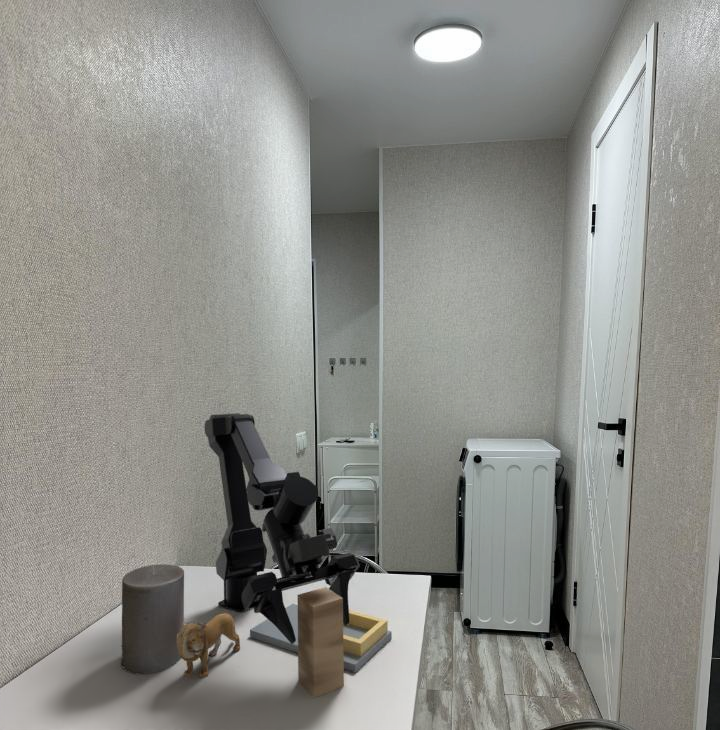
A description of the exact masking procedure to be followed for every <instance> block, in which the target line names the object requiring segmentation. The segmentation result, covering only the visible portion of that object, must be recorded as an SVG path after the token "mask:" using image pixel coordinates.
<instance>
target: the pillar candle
mask: <svg viewBox="0 0 720 730" xmlns="http://www.w3.org/2000/svg"><path fill="white" fill-rule="evenodd" d="M121 581H122V582H121V660H120V662H121V663H120V665H121V667H122V666H123V667H124V668H123V667H122V668H123V669H125V670H124V671H126V672H128V673H130V674H131V673H132V674H137V673H138V674H137V675H147V674H154V673H158V672H161V671H163V670H164V671H165V670H166V669H169V668H170V666H171V667H173V666H174V665H176V664H177V663H178V662H179V661H180V660H181V659H182V658H181V657H180V654H179V653H178V648H177V642H176V641H177V634H178V633H179V631H180V629H181V628H182V627H183V626H184V625H185V570H184V569H183V567H180V566H179V565H177V564H167V563H165V564H164V563H163V564H159V563H158V564H151V565H150V564H148V565H146V566H141V567H138V568H136V569H133V570H130V571H129V572H127V573H126V574H125V575H124V576H122V579H121ZM180 658H181V659H180ZM176 662H177V663H176ZM153 672H154V673H153ZM145 673H147V674H145Z"/></svg>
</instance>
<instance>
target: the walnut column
mask: <svg viewBox="0 0 720 730" xmlns="http://www.w3.org/2000/svg"><path fill="white" fill-rule="evenodd" d="M297 605H298V653H297V669H298V670H297V671H298V673H297V674H298V675H297V676H298V680H297V681H298V682H299V683H300V685H302V686H303V688H304V689H305V690H306V691H307V692H308V693H309V694H310V695H311V696H312V698H314V699H315V698H318V697H320V696H323V695H326V694H328V693H330V692H332V691H335V690H337V689H340V688H343V687H344V686H345V677H344V676H345V675H344V674H345V673H344V671H345V669H344V654H343V598H342V597H340V596H339V595H337V594H336V593H334V592H333V591H331V590H330V589H329V587H327V586H324V587H321V588H317V589H314V590H310V591H306V592H302V593H299V594H297Z"/></svg>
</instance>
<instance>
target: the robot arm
mask: <svg viewBox="0 0 720 730" xmlns="http://www.w3.org/2000/svg"><path fill="white" fill-rule="evenodd" d="M204 434H205V437H207V440H208V446H209V448H211V450H212V452H214V453H215V454H216V455H217V457H218V460H219V461H218V462H219V468H220V470H219V471H220V475H221V476H220V477H221V484H222V485H221V486H222V492H223V500H224V507H225V514H226V523H227V528H226V529H225V531H224V533H223V534H224V535H223V537H222V540H221V551H220V552H219V555H218V556H217V559H216V561H215V570H216V574H217V576H219V578H220V579H222V580H223V599H222V600H220V601H218V603H217V605H218V606H219V607H222V608H226V609H228V610H231V611H235V612H239V613H243V612H245V611H249V610H253V612H254V614H258V613H260V614H261V615H263V617H264V618H266V620H267V619H268V620H269V621H271V622H272V623H273V624H274V625H275V626H276V627H277V628H278V629H279V631H280V632H281V633H282V634H283V635H284V636H285V637H286V638H287V639H288V640H289V642H290V643H291V644H293V643H294V642H295V641H296V638H295V634H294V630H293V627H292V625H291V622H290V619H289V617H288V614H287V611H286V609H285V608H286V607H285V604H284V598H283V592H284V591H287V590H291V589H294V588H298V587H302V586H303V587H304V586H306V585H310V584H314V583H317V582H321V581H324V582H325V584H327V585H328V586H329V587H328V589H330V590H331V591H333V592H334V593H336V594H337V595H339V596H340V597H342V598H343V623H344V625H345V626H347V625H348V624H349V622H350V621H349V610H350V608H349V582H350V581H351V579H352V578H353V576H355V573H356V572H357V571H358V569H359V568H360V567H361V565H360V563H359V560H358V558H357V556H356V555H355V554H353V553H351V552H347V553H343V554H339V555H336V556H332V558H331V559H330V561H329V562H328V563H327V565H326V566H323V567H319V568H318V565H320V564H321V563H322V562H323V558H322V557H326V556H328V557H329V556H330V555H331V553H330V551H331V550H333V549H335V548H337V546H338V541H337V537H336V534H335V533H334V531H333V529H332V527H329V528H323V529H321V530H318V532H317V535H315V536H311V535H309V533H306V534H305V533H304V530H303V527H302V523H303V522H305V520H306V519H307V517H308V516H309V514H310V512H311V510H313V509H312V508H313V507H314V505H315V503H316V502H317V500H318V497H319V490H318V487H317V485H316V484H314V483H313V482H312V481H311V480H310V479H308V478H307V477H304V476H301V474H300V472H299V471H292V472H286V471H285V470H284V468H283V467H281V466H280V465H278V464H276V463H274V462H273V461H272V458H271V457H270V455H269V453H268V451H267V449H266V447H265V445H264V442H263V440H262V438H261V436H260V434H259V432H258V430H257V428H256V425H255V418H254V416H253V415H252V414H249V413H244V414H243V413H242V414H241V413H239V412H238V413H236V412H235V413H234V412H233V413H220V414H217V413H215V414H212V415H210V417H209V419H207V420H205V423H204ZM245 471H246V473H247V476H248V483H246V476H245ZM246 484H247V485H246ZM250 505H251V507H252V509H254V511H259V512H260V511H266V510H269V511H268V512H266V515H265V516H264V518H263V523H262V526H261V527H260V526H258V527H257V526H256V524H255V523H254V522H253V521H252V516H251V511H250ZM263 533H267V537H268V539H269V542H270V543H269V544H270V545H271V548H272V551H273V555H272V556H271V560H272V562H273V563H275V564H276V563H277V567H278V569H279V572H280V574H281V575H280V576H281V577H277V575H276V574H275V573H274V572H273V571H270V572H265V573H260V572H264V571H265V567H266V561H267V554H268V548H267V546H266V543H265V541H264V537H263V536H264V535H263ZM258 573H260V574H258Z"/></svg>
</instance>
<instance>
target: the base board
mask: <svg viewBox="0 0 720 730" xmlns="http://www.w3.org/2000/svg"><path fill="white" fill-rule="evenodd" d="M285 609H286V611H287V614H288V617H289V619H290V622H291V625H292V627H293V630H294V634H295V638H296V641H295V642H294V643H293V644H291V643H290V642H289V640H288V639H287V638H286V637H285V636H284V635H283V634H282V633H281V632H280V631H279V629H278V628H277V627H276V626H275V625H274V624H273V623H272V622H271V621H269V620H268V619H267V618H266V619H265V620H264V621H262V622H260V623H259V624H257V625H256V626H254V627H252V628H250V629H249V637H250V638H254V639H255V640H258V641H262V642H266V643H268V644H271V645H272V646H273V645H274V646H276V647H279V648H282V649H285V650H288V651H291V652H295V653H297V654H298V604H296V603H291V604H290V605H288V606H286V607H285ZM349 621H350V622H349V624H348V625H347V626H345V625H344V623H343V654H344V670H347V671H349V672H353V673H356V672H357V671H358V670H360V669H361V668H362V667H363V666H364V665H365V664H366V663H367V662H368V661H369V660H370V659H371V658H372V657H374V656H375V655H376V654H377V653H378V652H379V651H380V650H381V649H382V648H384V646H385V645H386V644H387V643H388V642H389V641H390V640H392V638H393V637H392V635H393V634H392V633H393V632H392V631H391V630H388V629H389V628H388V623H389V621H388V619H384V618H380V617H376V616H372V615H368V614H365V613H361V612H357V611H355V610H354V611H353V610H351V609H349Z"/></svg>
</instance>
